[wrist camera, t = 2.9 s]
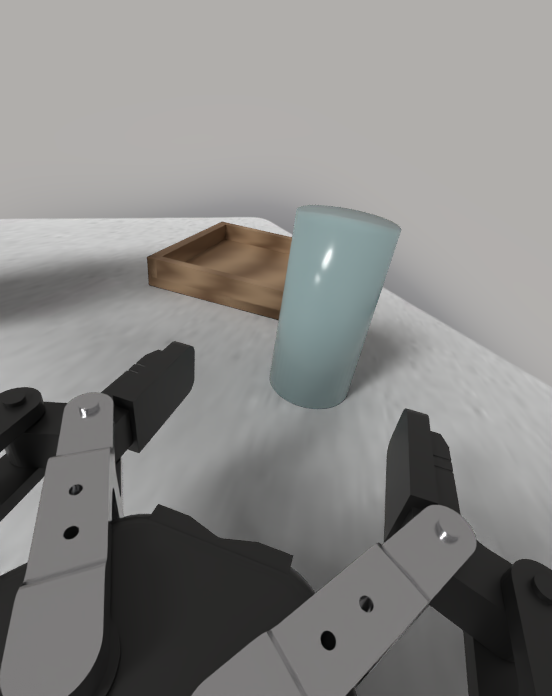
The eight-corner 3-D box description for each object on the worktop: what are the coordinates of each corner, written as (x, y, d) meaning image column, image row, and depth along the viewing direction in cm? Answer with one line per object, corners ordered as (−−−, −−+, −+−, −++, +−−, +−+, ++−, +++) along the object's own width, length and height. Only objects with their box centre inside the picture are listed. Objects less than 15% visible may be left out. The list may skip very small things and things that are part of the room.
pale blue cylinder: (258, 393, 25) (284, 217, 18) (282, 350, 29) (308, 200, 23) (342, 419, 24) (401, 242, 17) (351, 370, 28) (400, 219, 22)
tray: (149, 284, 36) (147, 256, 35) (221, 242, 51) (222, 221, 49) (296, 324, 34) (301, 296, 32) (327, 267, 48) (332, 246, 47)
